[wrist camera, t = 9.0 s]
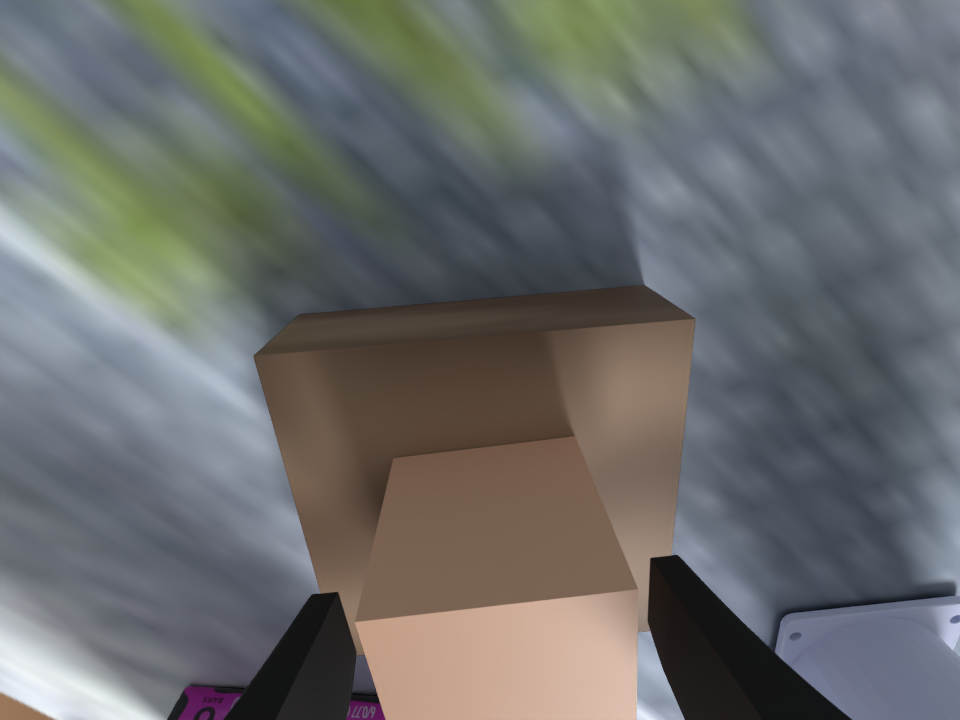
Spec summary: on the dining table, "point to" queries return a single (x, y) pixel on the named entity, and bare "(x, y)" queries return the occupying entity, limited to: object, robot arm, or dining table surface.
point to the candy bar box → (207, 706)
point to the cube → (499, 590)
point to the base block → (480, 408)
